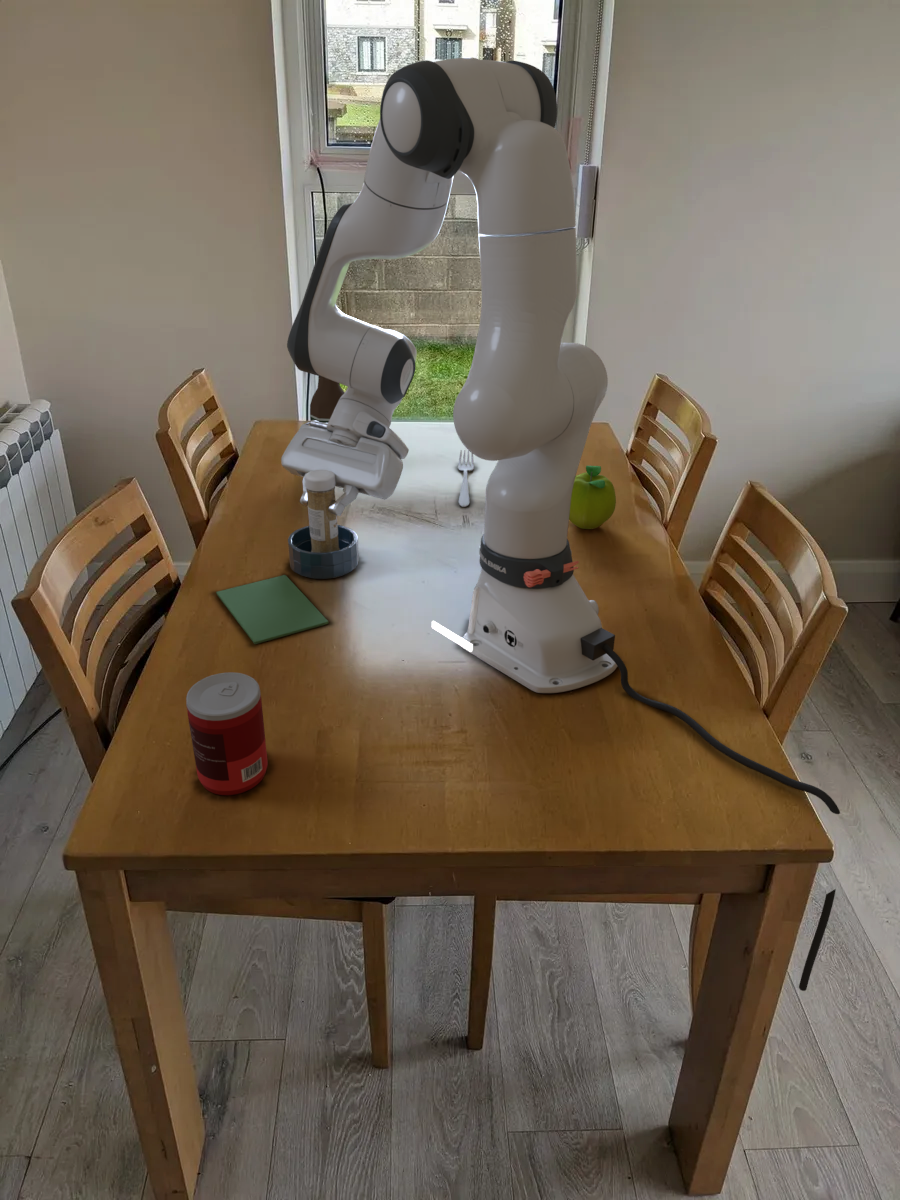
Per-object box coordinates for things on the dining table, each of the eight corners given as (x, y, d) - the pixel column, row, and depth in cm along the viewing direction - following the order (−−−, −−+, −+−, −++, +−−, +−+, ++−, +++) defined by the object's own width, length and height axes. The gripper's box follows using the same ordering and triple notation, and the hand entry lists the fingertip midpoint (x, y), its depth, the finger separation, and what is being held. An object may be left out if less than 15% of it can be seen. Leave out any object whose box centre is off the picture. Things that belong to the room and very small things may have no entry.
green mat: (328, 623, 131) (328, 621, 131) (254, 644, 126) (254, 642, 126) (285, 576, 143) (285, 574, 142) (216, 594, 138) (216, 591, 137)
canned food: (272, 750, 106) (264, 671, 101) (263, 797, 100) (253, 715, 94) (205, 750, 106) (194, 671, 101) (191, 798, 99) (178, 715, 94)
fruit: (611, 515, 164) (617, 462, 159) (614, 538, 156) (620, 483, 151) (559, 512, 165) (563, 460, 160) (559, 535, 157) (564, 480, 152)
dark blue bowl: (370, 570, 145) (369, 544, 143) (306, 586, 140) (304, 560, 138) (340, 543, 153) (339, 518, 151) (279, 557, 148) (277, 532, 146)
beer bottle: (309, 461, 184) (302, 340, 172) (348, 457, 186) (343, 338, 175) (316, 475, 178) (309, 351, 166) (356, 471, 180) (351, 348, 168)
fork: (454, 506, 166) (455, 497, 165) (458, 458, 187) (458, 449, 186) (472, 507, 166) (473, 498, 165) (474, 458, 187) (474, 450, 186)
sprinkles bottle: (345, 555, 145) (340, 475, 138) (318, 563, 143) (312, 482, 136) (331, 544, 148) (326, 466, 142) (305, 551, 146) (299, 472, 139)
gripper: (295, 408, 146) (257, 485, 143) (400, 432, 136) (362, 516, 134) (315, 427, 151) (279, 502, 149) (418, 452, 141) (381, 533, 139)
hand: (319, 509), depth 141 cm, fingers closed on sprinkles bottle, 4 cm apart
